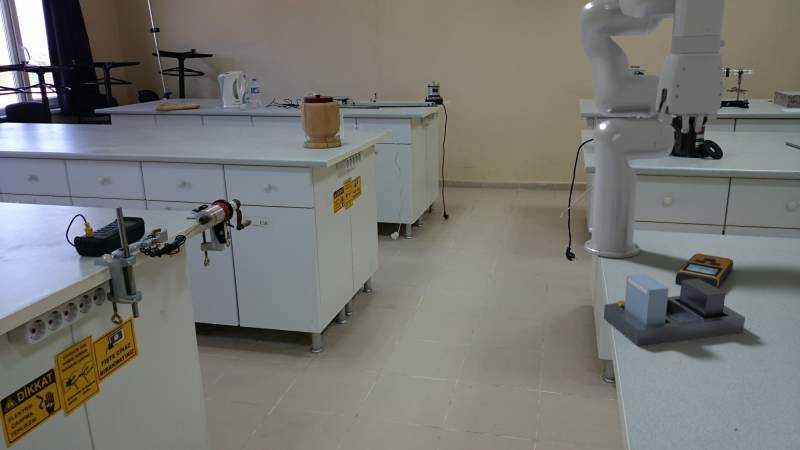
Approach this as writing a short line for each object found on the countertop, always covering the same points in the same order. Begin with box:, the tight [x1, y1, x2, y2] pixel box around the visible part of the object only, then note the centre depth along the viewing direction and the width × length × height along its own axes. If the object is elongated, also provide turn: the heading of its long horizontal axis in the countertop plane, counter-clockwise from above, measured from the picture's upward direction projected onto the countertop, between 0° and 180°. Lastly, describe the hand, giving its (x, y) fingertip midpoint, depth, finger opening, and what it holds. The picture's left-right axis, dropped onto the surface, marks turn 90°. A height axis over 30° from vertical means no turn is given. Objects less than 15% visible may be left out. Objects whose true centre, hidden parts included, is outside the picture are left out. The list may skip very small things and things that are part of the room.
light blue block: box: [624, 273, 669, 326], centre depth 106 cm, size 7×4×8 cm, turn 10°
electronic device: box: [675, 253, 734, 289], centre depth 130 cm, size 8×16×3 cm, turn 141°
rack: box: [603, 279, 746, 347], centre depth 108 cm, size 11×20×7 cm, turn 101°
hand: (684, 154), depth 109 cm, fingers closed
